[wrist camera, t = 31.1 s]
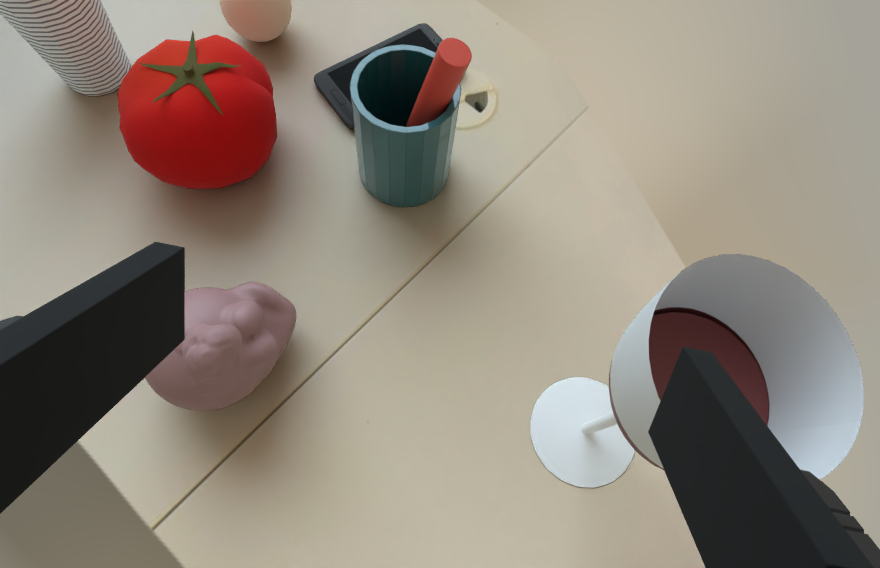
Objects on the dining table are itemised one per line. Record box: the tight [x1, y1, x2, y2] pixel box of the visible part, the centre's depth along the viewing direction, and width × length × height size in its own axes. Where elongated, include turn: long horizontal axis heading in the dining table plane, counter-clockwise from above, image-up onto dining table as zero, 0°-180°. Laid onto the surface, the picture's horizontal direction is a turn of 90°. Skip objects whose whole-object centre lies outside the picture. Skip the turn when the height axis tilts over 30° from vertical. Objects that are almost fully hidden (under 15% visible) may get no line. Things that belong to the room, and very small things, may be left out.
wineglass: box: [530, 254, 864, 488], centre depth 34 cm, size 9×10×23 cm
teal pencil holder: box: [350, 45, 461, 207], centre depth 47 cm, size 8×8×11 cm
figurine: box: [145, 282, 296, 411], centre depth 39 cm, size 9×11×12 cm
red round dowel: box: [406, 38, 472, 127], centre depth 45 cm, size 2×2×15 cm
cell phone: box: [314, 23, 443, 129], centre depth 56 cm, size 7×14×1 cm, turn 126°
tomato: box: [117, 31, 277, 189], centre depth 47 cm, size 13×12×11 cm
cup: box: [0, 0, 131, 96], centre depth 47 cm, size 8×8×16 cm
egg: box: [219, 0, 292, 42], centre depth 54 cm, size 7×7×8 cm
